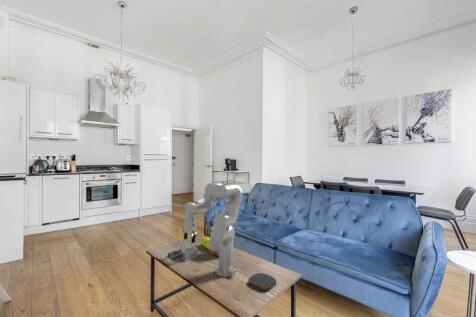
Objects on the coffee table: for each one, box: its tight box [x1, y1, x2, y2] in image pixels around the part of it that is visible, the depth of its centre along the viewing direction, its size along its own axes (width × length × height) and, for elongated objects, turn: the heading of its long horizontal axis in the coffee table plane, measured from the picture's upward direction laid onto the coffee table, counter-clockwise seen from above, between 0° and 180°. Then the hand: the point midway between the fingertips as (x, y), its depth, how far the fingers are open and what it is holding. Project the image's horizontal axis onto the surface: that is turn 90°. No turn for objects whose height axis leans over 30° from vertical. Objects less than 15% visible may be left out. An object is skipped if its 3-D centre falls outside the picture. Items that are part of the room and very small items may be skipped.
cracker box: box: [209, 226, 219, 257], centre depth 175 cm, size 14×6×21 cm, turn 53°
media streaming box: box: [247, 272, 277, 293], centre depth 134 cm, size 15×15×3 cm
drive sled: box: [167, 248, 183, 261], centre depth 171 cm, size 9×12×2 cm
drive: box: [181, 245, 198, 262], centre depth 167 cm, size 5×11×7 cm, turn 138°
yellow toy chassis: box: [201, 236, 210, 251], centre depth 188 cm, size 16×6×8 cm, turn 36°
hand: (189, 240), depth 168 cm, fingers open, 9 cm apart
